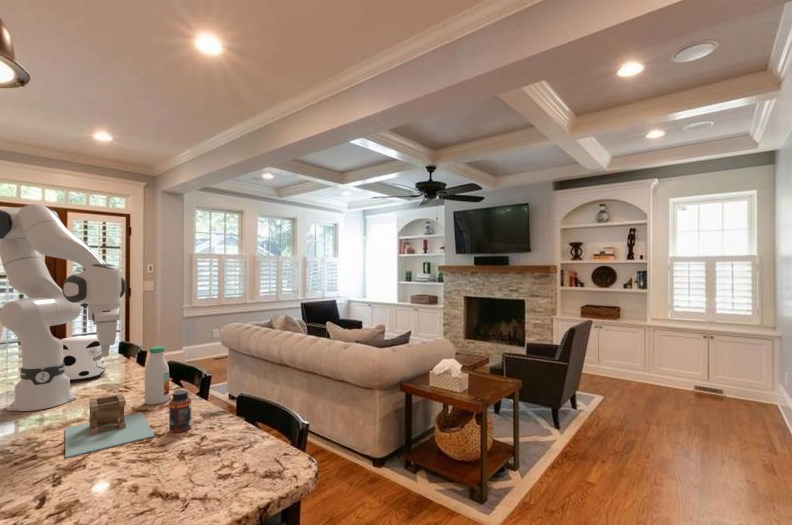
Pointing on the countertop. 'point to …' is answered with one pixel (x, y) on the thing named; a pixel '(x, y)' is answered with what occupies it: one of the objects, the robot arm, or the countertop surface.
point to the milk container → (83, 357)
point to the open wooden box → (107, 413)
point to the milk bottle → (156, 378)
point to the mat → (105, 436)
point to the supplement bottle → (180, 412)
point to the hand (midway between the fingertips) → (105, 355)
